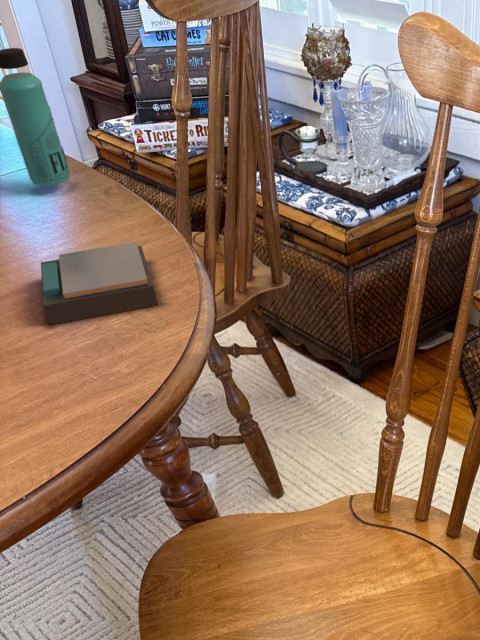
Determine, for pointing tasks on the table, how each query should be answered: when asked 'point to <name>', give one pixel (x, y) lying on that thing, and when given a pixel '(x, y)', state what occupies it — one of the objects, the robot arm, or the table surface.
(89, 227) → the table surface
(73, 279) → the kitchen scale
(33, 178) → the beverage bottle
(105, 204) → the table surface
